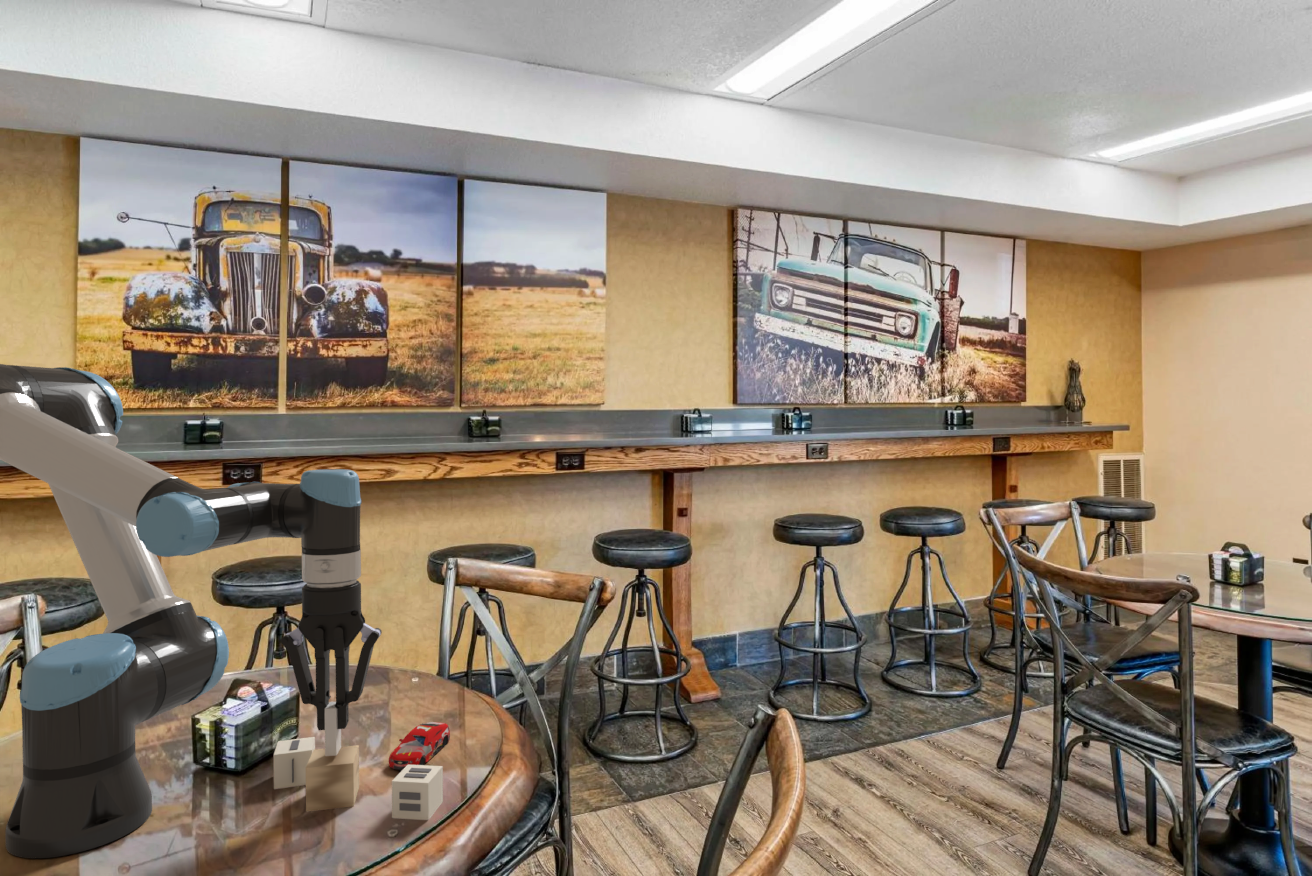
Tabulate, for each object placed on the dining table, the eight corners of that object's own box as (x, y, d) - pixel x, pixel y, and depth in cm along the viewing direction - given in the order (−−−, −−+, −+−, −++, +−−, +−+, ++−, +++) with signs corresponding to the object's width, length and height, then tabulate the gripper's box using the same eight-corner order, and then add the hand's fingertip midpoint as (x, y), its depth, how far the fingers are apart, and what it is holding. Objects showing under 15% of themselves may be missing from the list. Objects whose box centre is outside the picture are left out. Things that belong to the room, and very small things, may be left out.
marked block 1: (273, 791, 110) (273, 755, 110) (278, 774, 115) (278, 740, 115) (312, 786, 111) (311, 750, 111) (315, 769, 117) (314, 735, 117)
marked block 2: (391, 819, 102) (391, 780, 102) (408, 800, 107) (407, 763, 107) (428, 821, 102) (427, 782, 102) (442, 802, 107) (442, 765, 107)
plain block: (306, 812, 104) (305, 768, 104) (314, 791, 110) (313, 749, 110) (353, 806, 106) (353, 763, 105) (359, 786, 111) (358, 745, 111)
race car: (415, 777, 115) (415, 750, 115) (382, 773, 116) (381, 746, 116) (456, 740, 128) (456, 716, 128) (425, 737, 129) (425, 713, 129)
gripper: (272, 589, 102) (274, 767, 103) (375, 586, 104) (377, 760, 105) (289, 577, 110) (291, 743, 110) (386, 575, 112) (387, 737, 112)
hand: (333, 751), depth 108 cm, fingers closed
